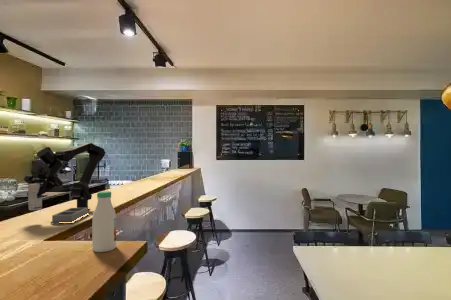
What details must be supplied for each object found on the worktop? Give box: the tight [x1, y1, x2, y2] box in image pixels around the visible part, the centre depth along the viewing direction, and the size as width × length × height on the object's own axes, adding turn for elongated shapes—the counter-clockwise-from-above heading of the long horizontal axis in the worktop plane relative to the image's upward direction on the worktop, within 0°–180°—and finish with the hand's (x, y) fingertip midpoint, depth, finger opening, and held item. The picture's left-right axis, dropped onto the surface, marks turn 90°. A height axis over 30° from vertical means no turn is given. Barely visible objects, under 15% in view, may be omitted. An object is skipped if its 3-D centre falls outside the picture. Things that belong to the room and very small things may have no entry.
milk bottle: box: [91, 190, 117, 253], centre depth 100 cm, size 8×8×20 cm
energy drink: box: [27, 183, 43, 211], centre depth 135 cm, size 5×5×12 cm
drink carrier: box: [50, 207, 89, 224], centre depth 142 cm, size 18×10×4 cm, turn 1°
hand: (32, 195), depth 134 cm, fingers closed on energy drink, 5 cm apart
